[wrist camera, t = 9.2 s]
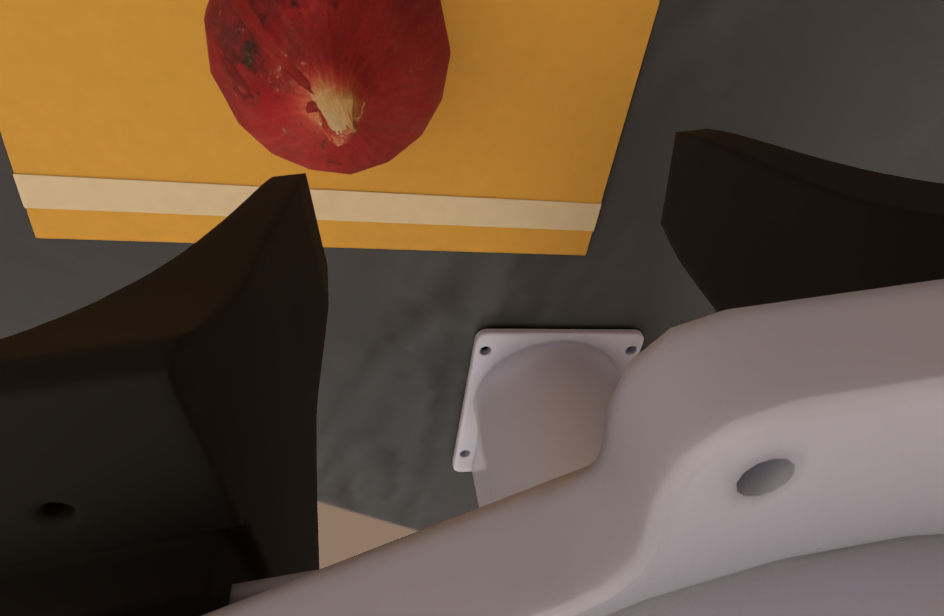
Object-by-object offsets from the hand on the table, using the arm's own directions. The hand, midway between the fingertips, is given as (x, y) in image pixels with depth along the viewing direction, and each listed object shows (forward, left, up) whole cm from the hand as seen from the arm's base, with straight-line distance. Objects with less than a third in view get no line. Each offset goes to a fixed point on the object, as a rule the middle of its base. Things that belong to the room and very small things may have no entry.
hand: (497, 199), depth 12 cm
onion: (+1, +3, -10) cm, 10 cm away
